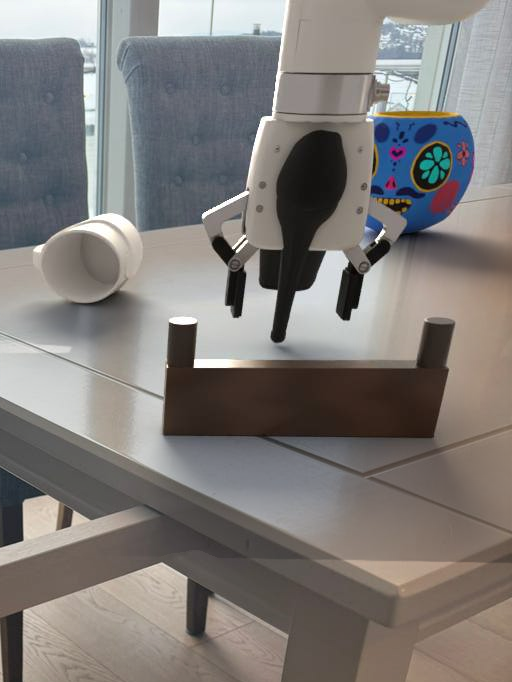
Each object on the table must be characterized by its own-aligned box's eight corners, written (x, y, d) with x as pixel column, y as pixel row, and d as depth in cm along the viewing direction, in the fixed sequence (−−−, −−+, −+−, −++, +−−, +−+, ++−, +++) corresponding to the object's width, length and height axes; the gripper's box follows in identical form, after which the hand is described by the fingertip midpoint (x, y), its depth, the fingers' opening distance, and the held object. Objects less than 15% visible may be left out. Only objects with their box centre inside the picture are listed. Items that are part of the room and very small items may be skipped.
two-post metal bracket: (426, 427, 69) (450, 316, 65) (434, 437, 67) (459, 324, 63) (161, 425, 70) (168, 317, 66) (162, 434, 69) (169, 324, 64)
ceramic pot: (317, 237, 133) (334, 117, 124) (349, 218, 145) (367, 108, 137) (447, 247, 125) (473, 119, 117) (469, 226, 138) (494, 109, 130)
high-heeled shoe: (328, 232, 96) (376, 23, 79) (318, 360, 87) (369, 154, 70) (250, 227, 97) (280, 20, 80) (231, 352, 88) (261, 148, 71)
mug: (148, 290, 107) (151, 215, 103) (121, 309, 100) (123, 229, 96) (52, 282, 112) (51, 210, 107) (20, 300, 104) (18, 223, 100)
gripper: (418, 97, 78) (376, 308, 87) (210, 95, 79) (190, 303, 89) (443, 103, 72) (395, 329, 81) (217, 101, 73) (195, 324, 82)
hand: (288, 315), depth 85 cm, fingers open, 9 cm apart
